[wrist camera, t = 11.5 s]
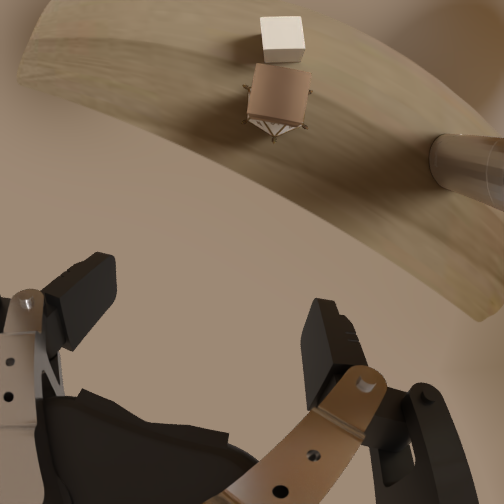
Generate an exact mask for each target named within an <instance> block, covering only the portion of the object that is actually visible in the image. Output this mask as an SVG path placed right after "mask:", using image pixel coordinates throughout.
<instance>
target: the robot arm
mask: <svg viewBox="0 0 504 504" xmlns="http://www.w3.org/2000/svg"><path fill="white" fill-rule="evenodd" d="M429 164H430V170H431V172H432V175H433V177H434V179H435V180H436V182H437V183H438V184H439V185H440V186H442V187H443V188H446V189H448V190H451V191H454V192H457V193H459V194H462V195H464V196H467V197H470V198H472V199H475V200H477V201H480V202H482V203H484V204H487V205H489V206H492V207H494V208H496V209H498V210H501V211H503V212H504V138H500V137H489V136H477V135H462V134H444V135H441V136H439V137H438V138H437V139H436V140H435V141H434V143H433V145H432V146H431V150H430V155H429ZM116 294H117V284H116V262H115V258H114V256H112V255H109V254H105V253H101V252H96V253H94V254H93V255H91V256H90V257H89V258H87V259H86V260H84V261H82V262H79V263H77V264H74V265H73V266H71V267H70V268H69V269H67V271H65V272H64V273H62V274H61V275H60V276H58V277H57V278H56V279H55V280H53V281H52V282H51V283H50V284H48V285H47V286H46V287H45V288H43V289H42V290H41V291H39V290H36V289H26V290H22V291H20V292H18V293H16V294H15V295H14V296H13V297H12V298H11V299H9V298H3V297H1V296H0V504H319V503H320V502H321V500H322V499H323V498H324V497H325V496H326V494H327V493H328V492H329V490H330V489H331V487H332V486H333V485H334V484H335V482H336V481H337V480H338V478H339V477H340V475H341V474H342V473H343V471H344V470H345V468H346V467H347V465H348V464H349V462H350V461H351V459H352V458H353V456H354V455H355V453H356V451H357V450H358V448H359V447H360V445H364V446H368V447H369V448H370V455H371V463H372V471H373V479H374V486H375V497H376V504H479V502H478V498H477V494H476V490H475V486H474V482H473V479H472V475H471V472H470V468H469V465H468V462H467V459H466V456H465V453H464V450H463V447H462V444H461V441H460V439H459V436H458V433H457V430H456V428H455V425H454V423H453V420H452V418H451V415H450V413H449V410H448V408H447V406H446V403H445V401H444V399H443V396H442V395H441V393H440V392H439V391H438V390H437V389H436V388H435V387H433V386H432V385H430V384H427V383H416V384H414V385H413V386H412V387H411V389H410V390H409V391H408V392H404V391H400V390H397V389H393V388H390V387H387V383H386V380H385V378H384V377H383V375H382V374H381V373H379V372H378V371H377V370H375V369H373V368H371V367H368V364H367V361H366V358H365V356H364V353H363V350H362V348H361V345H360V343H359V339H358V337H357V335H356V332H355V329H354V327H353V324H352V323H351V322H350V321H349V320H348V318H347V317H346V316H344V315H339V312H338V309H337V307H336V304H335V302H334V301H332V300H326V299H320V298H315V299H314V300H313V303H312V305H311V308H310V311H309V314H308V317H307V320H306V322H305V326H304V328H303V331H302V336H301V353H302V362H303V371H304V381H305V391H306V402H307V410H308V411H310V412H309V413H308V414H307V415H306V416H305V417H304V418H303V419H302V420H301V421H300V422H299V423H298V424H297V425H296V426H295V428H294V429H293V430H292V431H291V432H290V433H289V434H288V435H287V436H286V437H285V438H284V439H283V440H282V441H281V442H279V443H278V444H277V445H276V446H275V447H274V448H273V449H272V450H271V451H270V452H269V453H268V454H267V455H266V456H265V457H264V458H262V459H261V460H260V461H258V460H257V459H255V458H254V457H253V456H251V455H250V454H248V453H247V452H245V451H244V450H242V449H240V448H238V447H236V446H233V445H231V444H229V443H228V437H229V433H225V432H220V431H214V430H209V429H204V428H200V427H195V426H191V425H177V424H160V423H150V422H146V421H144V420H142V419H140V418H138V417H137V416H135V415H133V414H132V413H130V412H129V411H127V410H126V409H124V408H123V407H121V406H119V405H118V404H116V403H115V402H113V401H111V400H108V399H106V398H103V397H101V396H99V395H96V394H94V393H92V392H89V391H87V390H85V389H82V390H81V391H80V393H79V394H78V396H77V397H72V396H65V393H64V386H63V378H62V368H61V357H60V353H59V350H60V348H61V347H63V348H65V349H67V350H70V351H74V350H75V348H76V347H77V346H78V345H79V343H80V342H81V341H82V340H83V338H84V337H85V336H86V335H87V333H88V332H89V331H90V330H91V329H92V327H93V326H94V325H95V324H96V323H97V321H98V320H99V319H100V318H101V316H102V315H103V314H104V313H105V312H106V311H107V309H108V308H109V307H110V306H111V305H112V304H113V302H114V300H115V298H116ZM411 442H412V446H413V450H414V454H415V460H416V461H415V466H414V462H413V458H412V454H411V449H410V445H409V444H410V443H411Z"/></svg>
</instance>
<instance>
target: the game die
mask: <svg viewBox="0 0 504 504" xmlns="http://www.w3.org/2000/svg"><path fill="white" fill-rule="evenodd" d="M243 87H244V88H245V89H248V103H249V98H250V93H251V88H252V87H248V86H247V85H243ZM312 92H313V91H311V90H309V92H308V94H311V93H312ZM247 109H248V104H247ZM304 115H305V114H304ZM247 122H250V123H252V124H253V125H255V126H256V127H258V128H260V129H261V130H263V131H265V132H266V133H268V134H269V135H271V136H272V137H273V138H272V142H273V144H274V143H275V142H276V137H277V136H279V135H282V134H284V133H286V132H289V131H291V130H293V129H296V127H291V126H286V125H282V124H276V123H271V122H265V121H260V120H254V119H251V118H250V117H249V115H248V114H247V120H243V122H242V123H241V124H245V123H247ZM301 126H302V127H303V128H304V129H308V127H307V126H306V125H304V119H303V123H302V124H301V125H300V126H298V127H301ZM298 127H297V128H298Z"/></svg>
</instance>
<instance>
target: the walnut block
mask: <svg viewBox="0 0 504 504" xmlns="http://www.w3.org/2000/svg"><path fill="white" fill-rule="evenodd" d="M311 76H312V73H308V72H304V71H299V70H295V69H290V68H284V67H279V66H273V65H267V64H260V63H256V68H255V73H254V78H253V83H252V88H251V93H250V98H249V103H248V109H247V114H248V115H249V117H250V118H251V119H254V120H260V121H265V122H271V123H276V124H282V125H286V126H291V127H296V128H297V127H298V126H300V125H301V124H302V123H303V119H304V114H305V109H306V103H307V98H308V92H309V87H310V81H311Z"/></svg>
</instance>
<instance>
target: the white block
mask: <svg viewBox="0 0 504 504" xmlns="http://www.w3.org/2000/svg"><path fill="white" fill-rule="evenodd" d="M260 22H261V32H262V41H263V52H264V62H265V63H272V62H301V59H302V56H303V54H304V51H305V43H304V35H303V28H302V21H301V16H282V17H260Z"/></svg>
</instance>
